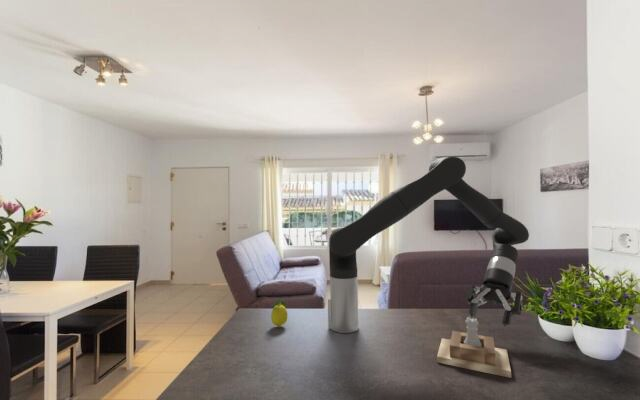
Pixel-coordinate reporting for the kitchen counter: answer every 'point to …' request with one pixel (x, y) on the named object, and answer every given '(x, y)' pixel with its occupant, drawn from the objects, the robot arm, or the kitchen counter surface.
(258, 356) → the kitchen counter surface
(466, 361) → the press socket
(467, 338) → the rook chess piece
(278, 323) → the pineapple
